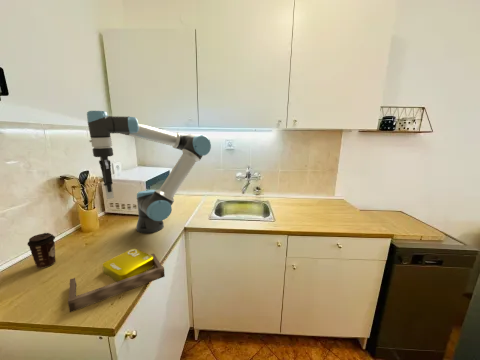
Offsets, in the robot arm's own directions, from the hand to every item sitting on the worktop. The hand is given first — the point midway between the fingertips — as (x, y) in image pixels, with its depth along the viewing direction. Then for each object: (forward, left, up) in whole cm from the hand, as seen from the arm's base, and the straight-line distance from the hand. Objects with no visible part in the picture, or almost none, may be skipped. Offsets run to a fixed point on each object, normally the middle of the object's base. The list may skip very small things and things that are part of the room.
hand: (110, 197), depth 99 cm
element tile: (-2, +21, -27) cm, 34 cm away
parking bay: (+2, +28, -26) cm, 38 cm away
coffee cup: (+26, -3, -26) cm, 37 cm away
